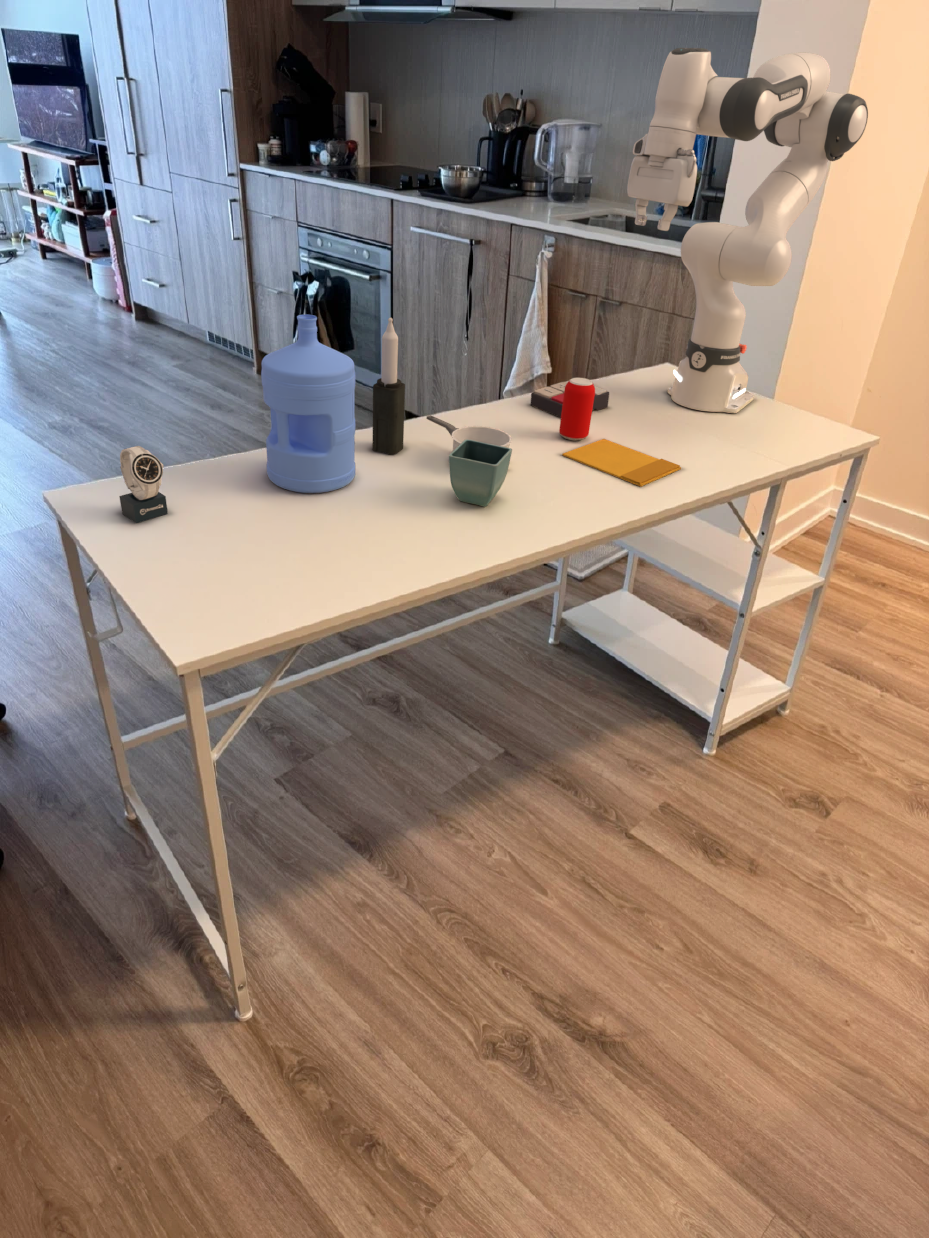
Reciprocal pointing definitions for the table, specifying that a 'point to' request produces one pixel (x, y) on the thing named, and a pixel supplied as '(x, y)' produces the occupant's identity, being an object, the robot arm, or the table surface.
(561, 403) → the calculator
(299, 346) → the water jug
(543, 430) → the table surface
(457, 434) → the saucepan
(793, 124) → the robot arm
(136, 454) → the watch
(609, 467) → the cloth
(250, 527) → the table surface
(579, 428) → the beverage can
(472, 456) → the flower pot
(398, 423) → the candle
